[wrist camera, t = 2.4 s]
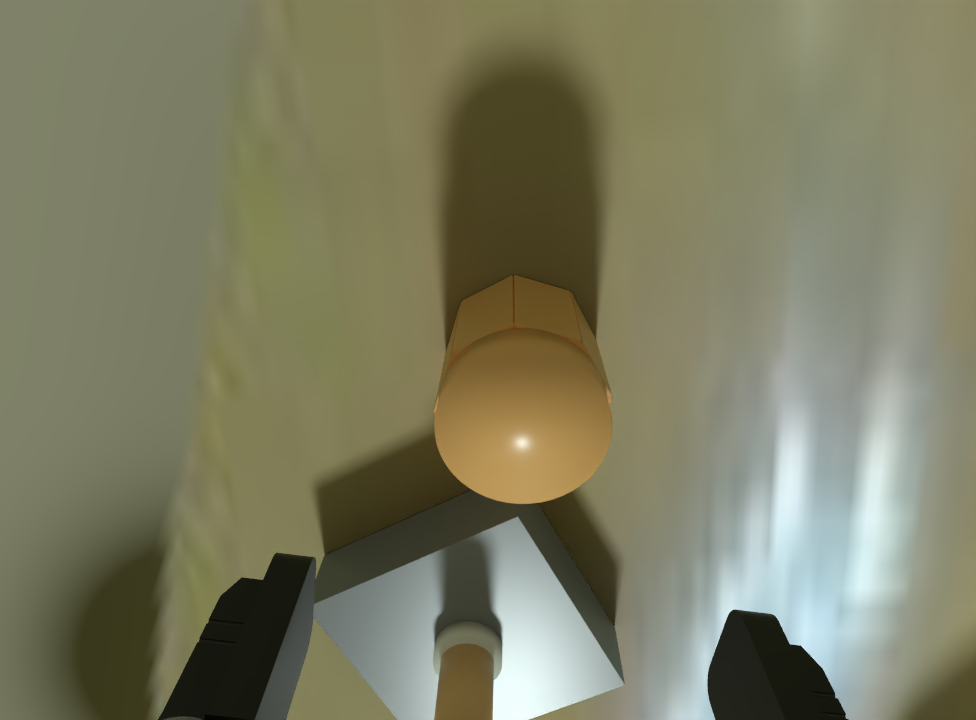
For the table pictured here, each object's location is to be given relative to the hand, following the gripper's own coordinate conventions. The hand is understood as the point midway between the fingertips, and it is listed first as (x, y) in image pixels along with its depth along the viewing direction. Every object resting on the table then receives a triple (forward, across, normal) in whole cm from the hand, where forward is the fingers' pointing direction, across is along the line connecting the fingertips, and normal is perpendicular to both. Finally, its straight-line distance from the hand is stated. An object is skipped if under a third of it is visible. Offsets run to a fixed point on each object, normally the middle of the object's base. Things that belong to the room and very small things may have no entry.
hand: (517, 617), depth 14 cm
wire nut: (+13, 0, 0) cm, 13 cm away
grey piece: (+13, 0, +11) cm, 17 cm away
